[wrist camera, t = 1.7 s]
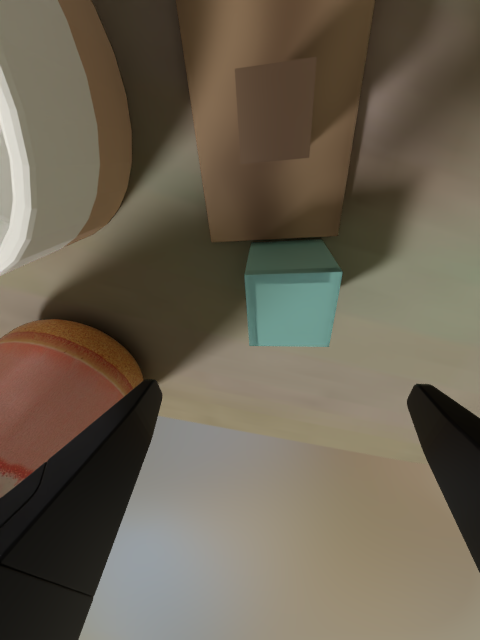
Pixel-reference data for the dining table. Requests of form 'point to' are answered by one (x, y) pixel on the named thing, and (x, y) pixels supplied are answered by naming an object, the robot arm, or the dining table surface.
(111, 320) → the dining table surface
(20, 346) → the vase
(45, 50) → the bowl
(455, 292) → the dining table surface
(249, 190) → the post block
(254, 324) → the teal tilted box
